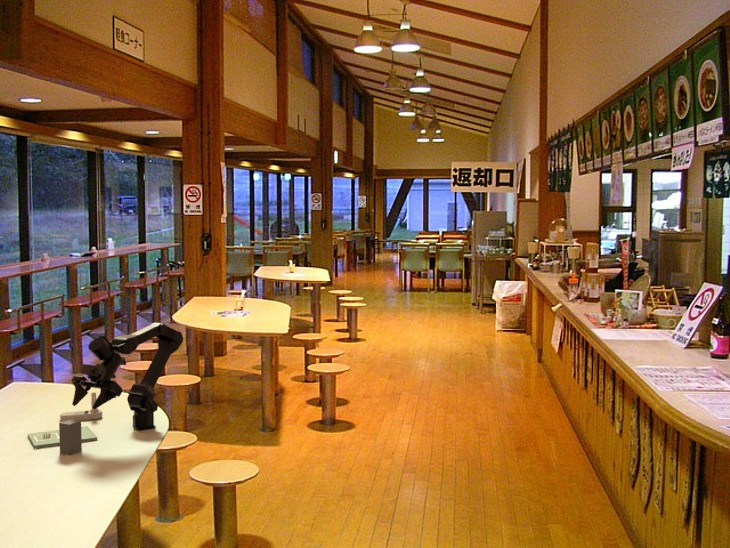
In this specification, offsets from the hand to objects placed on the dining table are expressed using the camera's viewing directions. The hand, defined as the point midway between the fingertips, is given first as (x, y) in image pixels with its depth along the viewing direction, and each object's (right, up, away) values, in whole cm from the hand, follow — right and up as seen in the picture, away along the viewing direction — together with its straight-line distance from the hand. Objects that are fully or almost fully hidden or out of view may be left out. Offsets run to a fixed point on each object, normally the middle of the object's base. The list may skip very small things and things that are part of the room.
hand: (83, 407), depth 262 cm
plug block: (-3, -14, -4) cm, 15 cm away
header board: (-11, -13, +11) cm, 21 cm away
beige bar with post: (-14, -11, +37) cm, 41 cm away
